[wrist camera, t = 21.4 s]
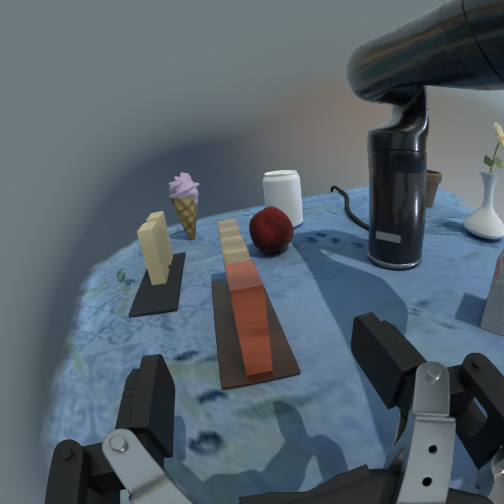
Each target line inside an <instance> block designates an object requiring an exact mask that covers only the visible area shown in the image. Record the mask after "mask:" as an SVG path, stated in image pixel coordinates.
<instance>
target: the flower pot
mask: <svg viewBox="0 0 504 504" xmlns="http://www.w3.org/2000/svg"><path fill="white" fill-rule="evenodd" d="M441 177H442V174H441V173H439V172H436V171H432V170H427V194H426V207H431V206H432V205H433V202H434V199H435V195H436V191H437V187H438V184H439V183H440V182H441V179H442V178H441Z"/></svg>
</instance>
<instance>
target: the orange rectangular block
mask: <svg viewBox="0 0 504 504" xmlns="http://www.w3.org/2000/svg"><path fill="white" fill-rule="evenodd" d="M225 269H226V275H227V281H228V286H229V291H230V297H231V302H232V307H233V313H234V318H235V323H236V328H237V333H238V338H239V343H240V348H241V353H242V357H243V362H244V367H245V371H246V375H247V376H248V375H253V374H258V373H263V372H268V371H272V370H273V366H272V357H271V348H270V340H269V331H268V322H267V313H266V305H265V296H264V287H263V283H262V281H261V279H260V276H259V274H258V272H257V269H256V267H255V265H254V262H253V260H249V261H244V262H238V263H233V264H227V265H225Z"/></svg>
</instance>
